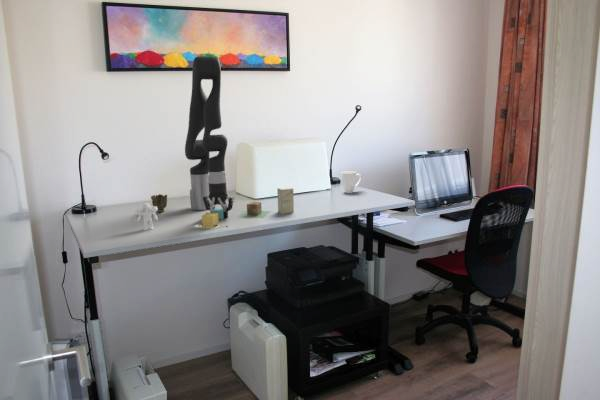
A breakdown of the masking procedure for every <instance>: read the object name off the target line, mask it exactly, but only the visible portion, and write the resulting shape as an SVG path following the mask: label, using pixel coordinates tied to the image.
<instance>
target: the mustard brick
mask: <svg viewBox="0 0 600 400" xmlns="http://www.w3.org/2000/svg"><path fill="white" fill-rule="evenodd" d="M219 220H220V219H218V213H210V212H207V213H205V214H202V216H201V221H202V228H212V229H214V228H216V227H217V226H218V223H219Z"/></svg>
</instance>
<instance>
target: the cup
mask: <svg viewBox="0 0 600 400" xmlns="http://www.w3.org/2000/svg"><path fill="white" fill-rule="evenodd" d="M150 199H151V200H153V201H151V203H152V208H153V207H154V206H157V208H158V211H156V213H164V212H165V208H166V207H167V205H168V194H164V195H163V194H162V193H159V194H155V195H154V194H153V195H152V196H151V195H150Z"/></svg>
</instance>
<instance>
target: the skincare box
mask: <svg viewBox="0 0 600 400" xmlns="http://www.w3.org/2000/svg"><path fill="white" fill-rule="evenodd" d="M294 206H295V204H294V188H293V187H291V186H290V187H289V186H288V187H280V188H279V187H277V212H278V213H279V214H281V215H284V214H290V213H294V212H295V211H294V210H295V209H294V208H295V207H294Z"/></svg>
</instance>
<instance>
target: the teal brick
mask: <svg viewBox="0 0 600 400" xmlns="http://www.w3.org/2000/svg"><path fill="white" fill-rule="evenodd" d="M223 212H224V211H223V208H222V207H215V209H213V210H211V213H218V220H224V214H223Z"/></svg>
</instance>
